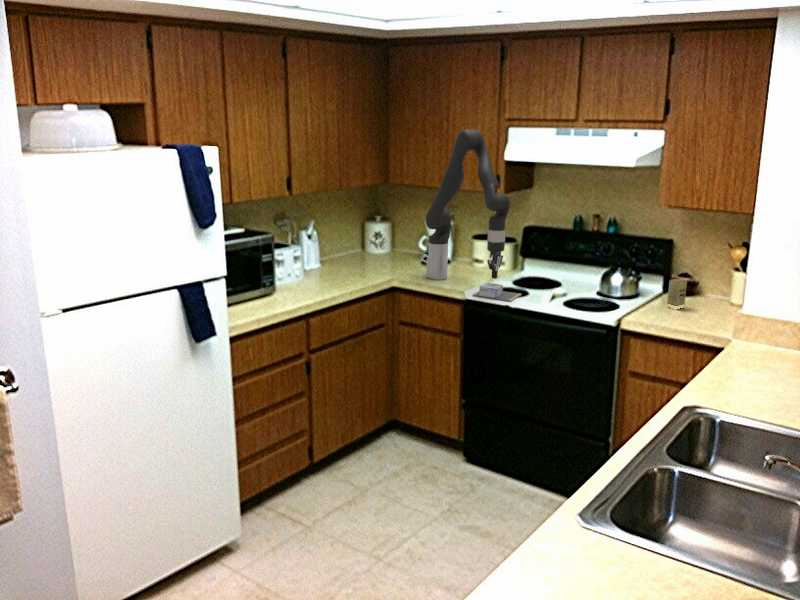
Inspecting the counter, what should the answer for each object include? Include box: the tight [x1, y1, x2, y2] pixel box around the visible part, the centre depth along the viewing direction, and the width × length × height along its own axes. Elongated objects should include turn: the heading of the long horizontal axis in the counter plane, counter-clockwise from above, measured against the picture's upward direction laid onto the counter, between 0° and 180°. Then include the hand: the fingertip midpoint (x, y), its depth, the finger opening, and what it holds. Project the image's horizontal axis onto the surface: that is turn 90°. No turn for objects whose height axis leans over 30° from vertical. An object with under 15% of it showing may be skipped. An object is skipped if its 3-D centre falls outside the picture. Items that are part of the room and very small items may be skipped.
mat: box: [472, 290, 522, 303], centre depth 335 cm, size 18×13×1 cm
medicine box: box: [478, 282, 504, 298], centre depth 333 cm, size 8×4×9 cm
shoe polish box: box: [666, 278, 688, 306], centre depth 318 cm, size 5×5×12 cm
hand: (494, 278), depth 335 cm, fingers closed
